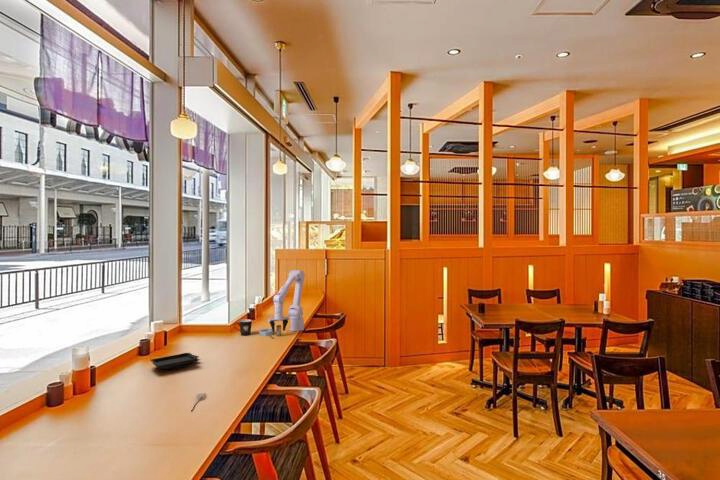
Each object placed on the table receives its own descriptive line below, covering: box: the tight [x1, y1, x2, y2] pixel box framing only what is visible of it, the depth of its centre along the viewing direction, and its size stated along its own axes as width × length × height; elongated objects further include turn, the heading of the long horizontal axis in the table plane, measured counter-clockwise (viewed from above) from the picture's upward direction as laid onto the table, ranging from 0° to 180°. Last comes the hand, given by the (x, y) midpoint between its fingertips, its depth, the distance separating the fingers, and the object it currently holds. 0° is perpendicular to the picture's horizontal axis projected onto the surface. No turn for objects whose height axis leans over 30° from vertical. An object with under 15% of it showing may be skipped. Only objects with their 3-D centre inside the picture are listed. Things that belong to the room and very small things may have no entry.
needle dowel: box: [275, 324, 282, 337], centre depth 292 cm, size 3×3×7 cm
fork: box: [194, 392, 207, 405], centre depth 180 cm, size 3×21×3 cm, turn 2°
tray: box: [149, 352, 200, 371], centre depth 227 cm, size 30×23×5 cm
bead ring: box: [258, 328, 275, 337], centre depth 297 cm, size 10×10×2 cm
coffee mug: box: [233, 318, 253, 337], centre depth 294 cm, size 12×9×10 cm
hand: (278, 331), depth 292 cm, fingers open, 7 cm apart
